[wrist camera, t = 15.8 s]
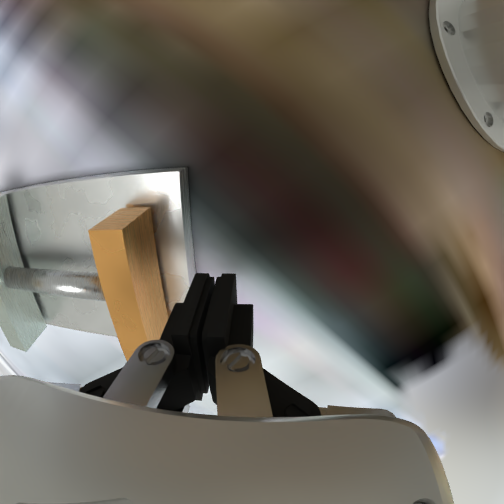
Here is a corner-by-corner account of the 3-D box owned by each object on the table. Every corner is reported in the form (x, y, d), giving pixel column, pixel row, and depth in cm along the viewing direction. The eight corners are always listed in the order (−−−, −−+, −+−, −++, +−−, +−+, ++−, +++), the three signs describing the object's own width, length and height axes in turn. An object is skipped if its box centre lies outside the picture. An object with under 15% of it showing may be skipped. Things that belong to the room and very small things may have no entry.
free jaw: (147, 174, 12) (116, 189, 9) (174, 347, 16) (161, 384, 13) (-12, 198, 12) (-42, 213, 9) (27, 321, 16) (7, 344, 14)
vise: (187, 166, 13) (154, 185, 9) (202, 329, 17) (188, 383, 13) (-52, 206, 14) (-81, 222, 10) (-26, 294, 18) (-50, 316, 14)
